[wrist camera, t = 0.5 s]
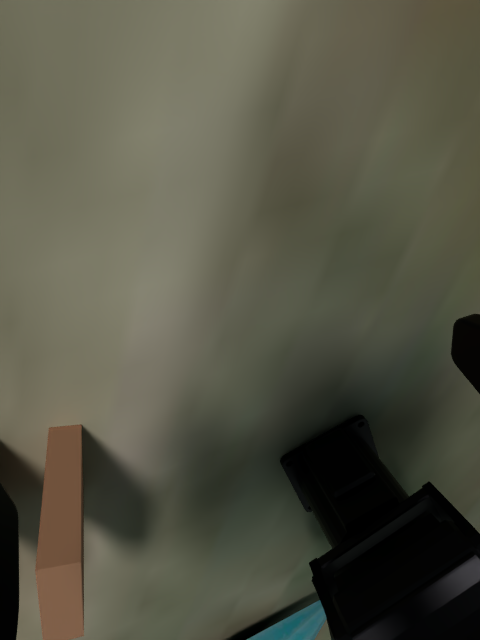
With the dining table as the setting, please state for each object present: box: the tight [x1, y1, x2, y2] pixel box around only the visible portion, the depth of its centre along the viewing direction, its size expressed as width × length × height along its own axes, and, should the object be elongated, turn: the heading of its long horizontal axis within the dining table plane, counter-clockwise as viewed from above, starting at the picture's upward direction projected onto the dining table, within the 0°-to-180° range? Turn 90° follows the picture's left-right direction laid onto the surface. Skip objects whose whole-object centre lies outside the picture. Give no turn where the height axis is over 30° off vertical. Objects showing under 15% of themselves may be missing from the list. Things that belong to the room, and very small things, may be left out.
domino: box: [35, 425, 84, 640], centre depth 21 cm, size 2×5×8 cm, turn 172°
